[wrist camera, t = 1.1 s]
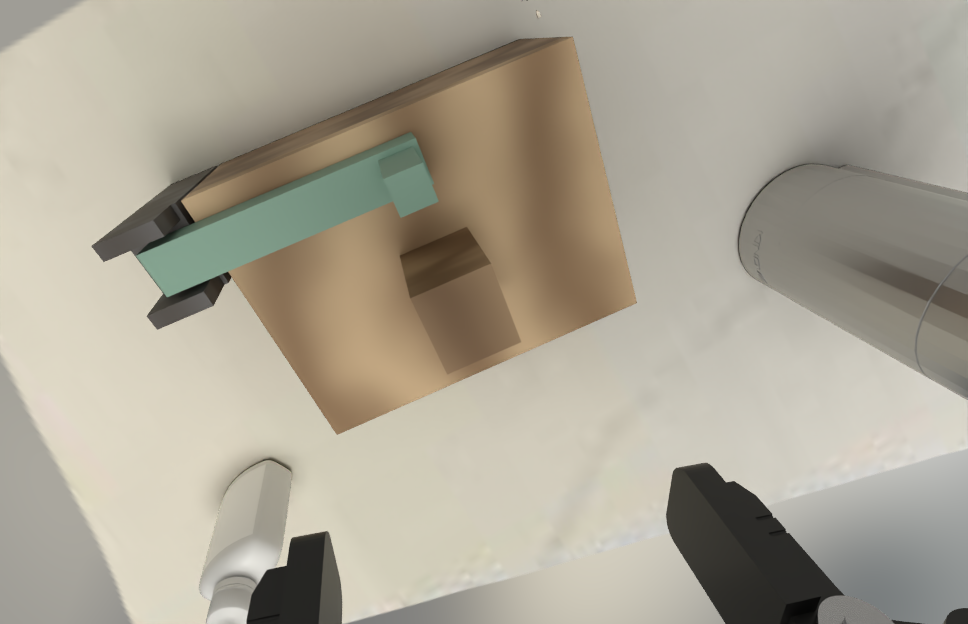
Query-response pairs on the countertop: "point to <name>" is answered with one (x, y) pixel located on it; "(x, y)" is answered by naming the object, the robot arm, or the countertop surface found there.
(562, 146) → the lid
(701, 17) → the countertop surface
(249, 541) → the eye dropper bottle
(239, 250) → the green bar
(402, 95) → the wooden box
